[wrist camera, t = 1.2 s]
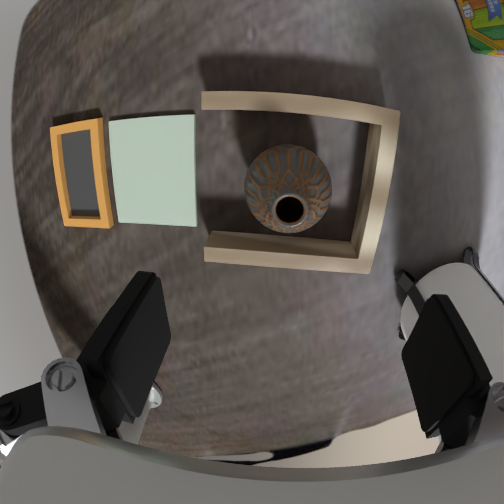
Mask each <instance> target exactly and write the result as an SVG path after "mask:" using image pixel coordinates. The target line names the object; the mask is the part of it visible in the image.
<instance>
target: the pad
mask: <svg viewBox="0 0 504 504" xmlns="http://www.w3.org/2000/svg"><path fill="white" fill-rule="evenodd" d="M109 137H110V151H111V163H112V174H113V183H114V191H115V199H116V206H117V213H118V220H119V222H122V223H142V224H161V225H178V226H194V227H197V225H198V224H197V198H196V156H195V114H192V115H169V116H154V117H142V118H132V119H123V120H115V121H109Z"/></svg>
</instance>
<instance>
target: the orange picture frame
mask: <svg viewBox="0 0 504 504" xmlns="http://www.w3.org/2000/svg"><path fill="white" fill-rule="evenodd" d="M50 134H51V146H52V155H53V163H54V171H55V178H56V184H57V190H58V196H59V202H60V207H61V212H62V217H63V221H64V226H75V227H94V228H111V227H112V226H113V225H114V223H113V216H112V210H111V203H110V196H109V188H108V180H107V170H106V160H105V148H104V134H103V117H102V118H96V119H90V120H84V121H79V122H73V123H68V124H63V125H59V126H54V127H50Z"/></svg>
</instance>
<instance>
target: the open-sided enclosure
mask: <svg viewBox="0 0 504 504" xmlns="http://www.w3.org/2000/svg"><path fill="white" fill-rule="evenodd" d="M202 110H258V111H276V112H290V113H301V114H311V115H319V116H328V117H335V118H342V119H349V120H355V121H361V122H367V123H369V130H368V138H367V147H366V155H365V162H364V169H363V176H362V182H361V189H360V195H359V201H358V206H357V212H356V217H355V222H354V228H353V233H352V238H351V242H350V241H339V240H328V239H316V238H305V237H292V236H280V235H267V234H254V233H241V232H227V231H212V232H211V234H210V236H209V238H208V240H207V242H206V244H205V246H204V259H205V261H208V262H220V263H232V264H244V265H256V266H268V267H281V268H294V269H307V270H320V271H334V272H348V273H362V274H370V270H371V266H372V263H373V259H374V255H375V251H376V248H377V244H378V240H379V235H380V231H381V227H382V222H383V218H384V213H385V209H386V204H387V199H388V194H389V189H390V183H391V178H392V172H393V166H394V159H395V153H396V146H397V138H398V130H399V122H400V112H401V111H398V110H393V109H389V108H384V107H380V106H375V105H370V104H365V103H359V102H353V101H347V100H341V99H334V98H327V97H319V96H310V95H300V94H289V93H275V92H254V91H204V92H202Z"/></svg>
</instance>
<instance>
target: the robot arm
mask: <svg viewBox="0 0 504 504" xmlns="http://www.w3.org/2000/svg"><path fill="white" fill-rule="evenodd" d="M170 339H171V332H170V327H169V322H168V317H167V312H166V307H165V301H164V296H163V290H162V284H161V279H160V278H159V277H156V274H155V273H154V272H145V271H138V272H137V273H136V274H135V276H134V277H133V278H132V280H131V281H130V282H129V284H128V285H127V287H126V288H125V289H124V291H123V292H122V294H121V295H120V297H119V298H118V299H117V301H116V302H115V304H114V305H113V306H112V307H111V308H110V310H109V311H108V312H107V314H106V315H105V317H104V318H103V320H102V321H101V323H100V324H99V326H98V327H97V329H96V330H95V332H94V334H93V335H92V337H91V338H90V340H89V341H88V343H87V344H86V346H85V348H84V349H83V351H82V352H81V354H80V356H79V357H78V359H77V360H76V361H75V360H73V359H71V358H60V359H57V360H55V361H52V362H51V363H50V364H49V365H47V367H46V368H45V369H44V371H43V374H42V376H41V382H39V383H36V384H34V385H30V386H28V387H25V388H22V389H19V390H16V391H14V392H11V393H8V394H5V395H3V396H2V397H0V504H504V383H503V382H497V383H494V384H493V385H492V386H490V384H489V383H490V382H491V380H492V379H493V377H492V375H491V373H490V371H489V369H488V367H487V365H486V363H485V360H484V358H483V356H482V354H481V353H480V351H479V349H478V347H477V345H476V343H475V341H474V339H473V337H472V336H471V334H470V332H469V330H468V328H467V327H466V325H465V323H464V321H463V320H462V318H461V316H460V314H459V313H458V311H457V309H456V308H455V306H454V304H453V303H452V301H451V300H450V298H449V296H448V295H446V294H432V295H431V297H430V298H428V299H427V300H426V302H425V304H424V306H423V309H422V311H421V313H420V315H419V317H418V319H417V322H416V324H415V326H414V328H413V330H412V332H411V334H410V336H409V338H408V340H407V342H406V344H405V346H404V347H403V350H402V360H403V363H404V367H405V370H406V373H407V376H408V380H409V383H410V387H411V390H412V394H413V397H414V401H415V405H416V409H417V412H418V417H419V420H420V424H421V428H422V430H423V431H424V432H425V434H426V438H432V437H437V436H439V435H441V442H440V444H439V446H438V448H437V450H436V452H435V453H434V454H430V455H426V456H421V457H416V458H411V459H406V460H400V461H394V462H387V463H379V464H371V465H362V466H351V467H337V468H276V467H261V466H249V465H239V464H231V463H223V462H216V461H210V460H204V459H198V458H193V457H188V456H183V455H178V454H174V453H169V452H165V451H160V450H156V449H152V448H148V447H145V446H141V445H137V444H138V441H139V438H140V435H141V432H142V430H143V427H144V424H145V421H146V418H147V416H148V413H149V410H150V408H155V407H158V406H159V405H160V404H161V402H162V399H163V395H162V392H161V390H160V389H159V387H158V386H157V385H156V384H155V383H154V380H155V378H156V375H157V373H158V370H159V368H160V365H161V363H162V360H163V358H164V355H165V353H166V350H167V348H168V346H169V343H170Z"/></svg>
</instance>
